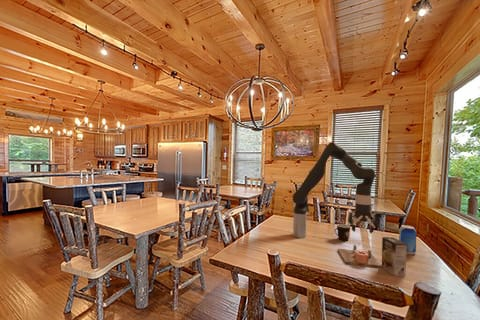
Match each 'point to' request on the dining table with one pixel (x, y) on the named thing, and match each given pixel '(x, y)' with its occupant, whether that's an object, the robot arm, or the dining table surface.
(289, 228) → the dining table surface
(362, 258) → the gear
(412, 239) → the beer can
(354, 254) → the carrier
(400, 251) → the coffee box
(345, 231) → the coffee mug
